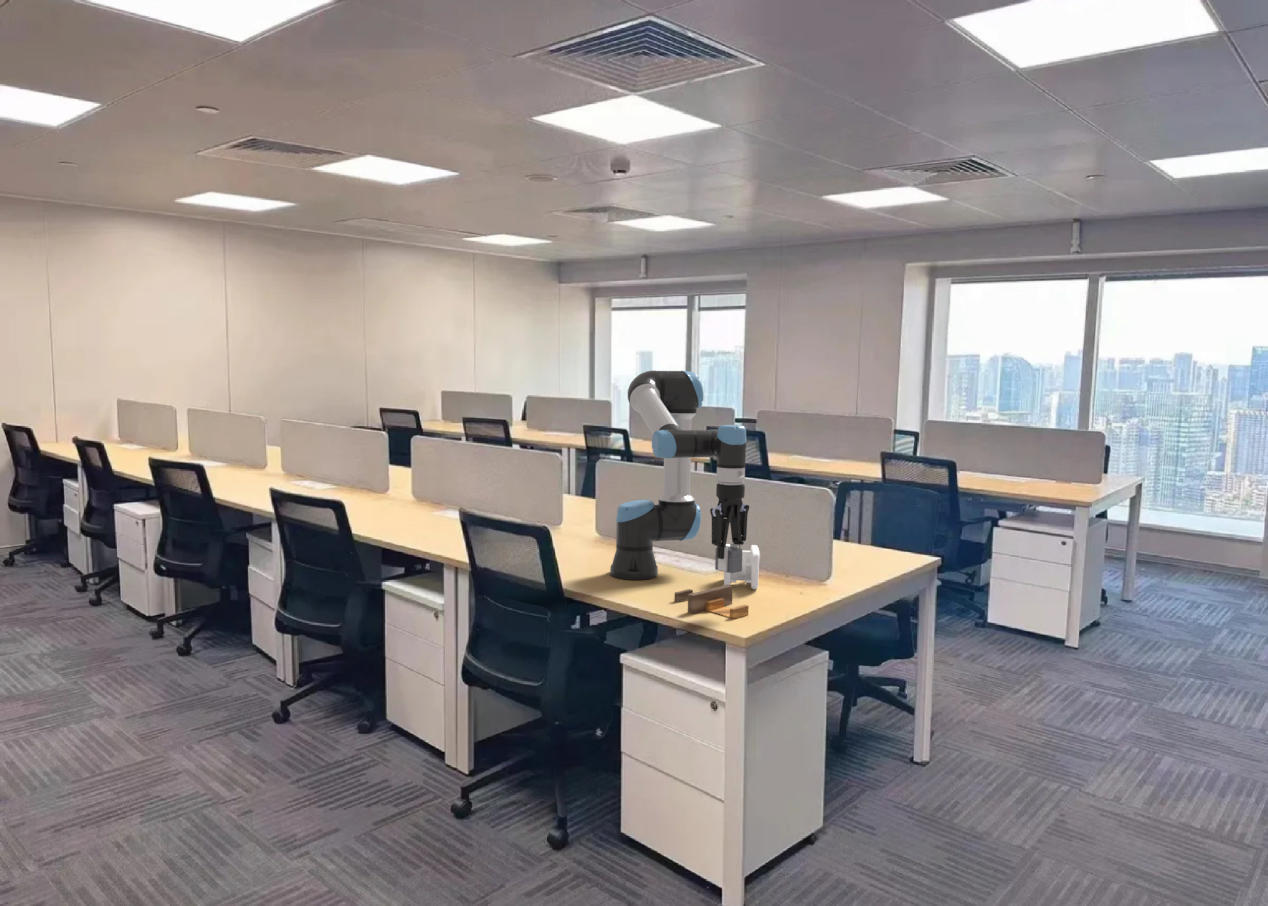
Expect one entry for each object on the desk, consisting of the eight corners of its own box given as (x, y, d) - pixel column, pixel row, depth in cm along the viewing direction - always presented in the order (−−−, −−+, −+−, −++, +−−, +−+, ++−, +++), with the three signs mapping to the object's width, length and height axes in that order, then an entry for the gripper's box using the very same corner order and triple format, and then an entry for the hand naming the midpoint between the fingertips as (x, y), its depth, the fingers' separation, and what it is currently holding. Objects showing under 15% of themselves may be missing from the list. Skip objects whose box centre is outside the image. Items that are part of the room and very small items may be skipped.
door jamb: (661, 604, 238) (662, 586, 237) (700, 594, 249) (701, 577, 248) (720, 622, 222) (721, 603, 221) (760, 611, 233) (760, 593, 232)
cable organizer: (723, 578, 269) (724, 542, 268) (757, 579, 268) (758, 543, 266) (723, 590, 254) (724, 552, 253) (759, 592, 253) (760, 553, 252)
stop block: (715, 569, 230) (715, 547, 230) (725, 567, 233) (725, 545, 232) (732, 573, 226) (732, 551, 225) (741, 571, 229) (742, 549, 228)
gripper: (719, 487, 219) (717, 576, 221) (762, 482, 230) (759, 567, 232) (698, 484, 224) (696, 571, 226) (740, 479, 236) (738, 562, 238)
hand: (728, 568), depth 229 cm, fingers closed on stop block, 4 cm apart
